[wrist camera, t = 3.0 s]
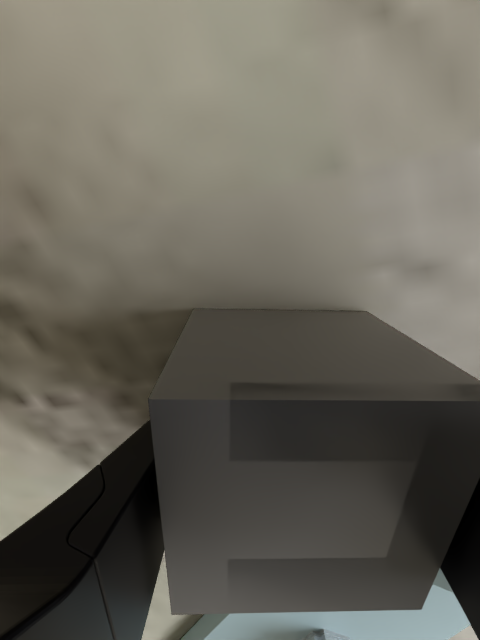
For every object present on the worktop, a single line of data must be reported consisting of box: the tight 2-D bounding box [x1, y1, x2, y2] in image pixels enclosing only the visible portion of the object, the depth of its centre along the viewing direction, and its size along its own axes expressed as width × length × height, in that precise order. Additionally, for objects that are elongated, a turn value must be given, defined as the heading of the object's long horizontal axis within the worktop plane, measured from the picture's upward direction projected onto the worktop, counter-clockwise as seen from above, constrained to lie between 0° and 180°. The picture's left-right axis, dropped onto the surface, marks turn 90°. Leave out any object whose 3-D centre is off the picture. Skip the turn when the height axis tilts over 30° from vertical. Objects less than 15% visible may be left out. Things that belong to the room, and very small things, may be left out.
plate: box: [180, 569, 471, 640], centre depth 15 cm, size 14×12×1 cm
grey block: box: [148, 309, 480, 615], centre depth 8 cm, size 6×6×5 cm
